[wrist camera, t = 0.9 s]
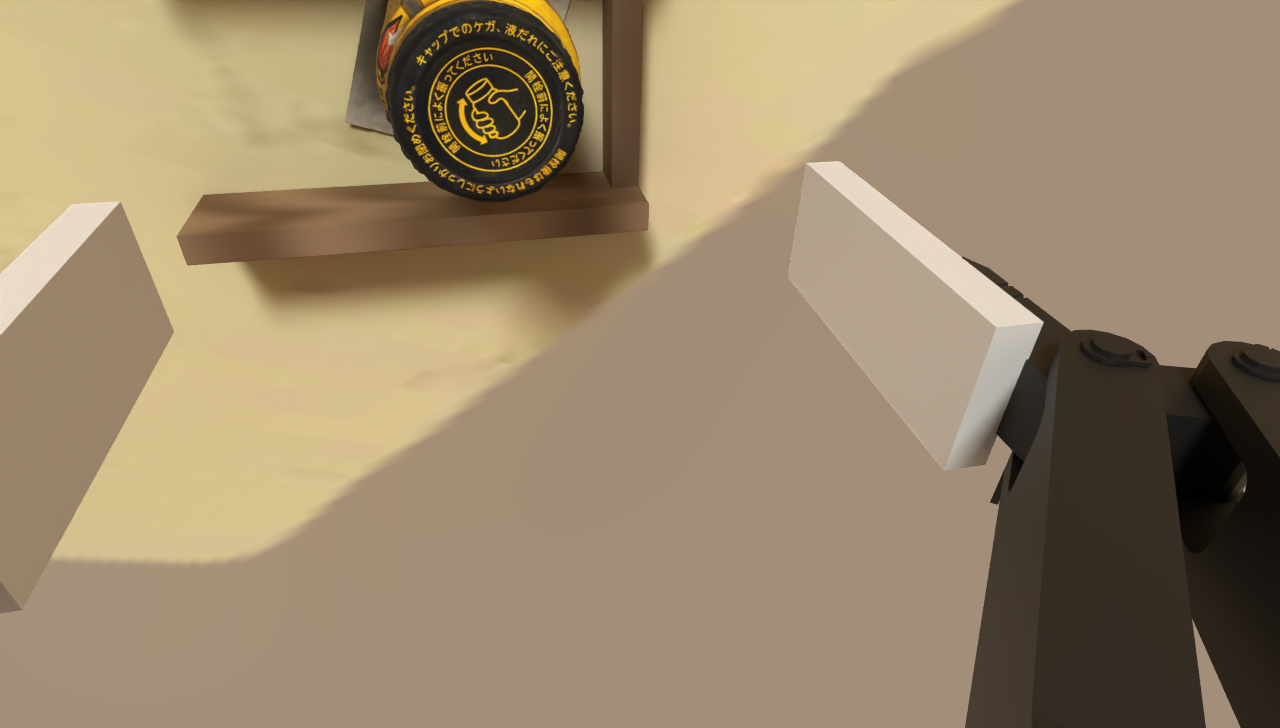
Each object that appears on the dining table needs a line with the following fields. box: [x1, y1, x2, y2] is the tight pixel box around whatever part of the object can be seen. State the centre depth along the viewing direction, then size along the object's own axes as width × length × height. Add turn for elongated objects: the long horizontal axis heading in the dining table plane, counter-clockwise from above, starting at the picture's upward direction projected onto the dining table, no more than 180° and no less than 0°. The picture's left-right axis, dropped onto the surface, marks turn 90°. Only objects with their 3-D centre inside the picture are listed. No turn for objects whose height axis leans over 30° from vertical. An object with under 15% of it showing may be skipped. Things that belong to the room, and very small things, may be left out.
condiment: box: [345, 0, 584, 202], centre depth 24 cm, size 7×8×12 cm
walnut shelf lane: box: [177, 0, 649, 265], centre depth 27 cm, size 18×13×4 cm
